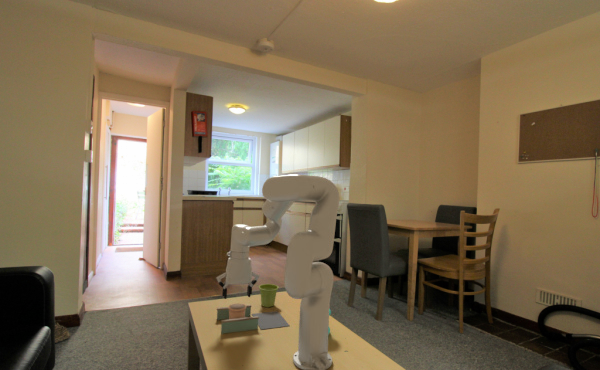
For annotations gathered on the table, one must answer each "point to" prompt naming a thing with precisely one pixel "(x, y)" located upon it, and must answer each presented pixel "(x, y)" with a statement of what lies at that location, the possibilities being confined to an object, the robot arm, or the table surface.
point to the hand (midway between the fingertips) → (236, 296)
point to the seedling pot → (236, 311)
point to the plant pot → (268, 294)
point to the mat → (270, 320)
